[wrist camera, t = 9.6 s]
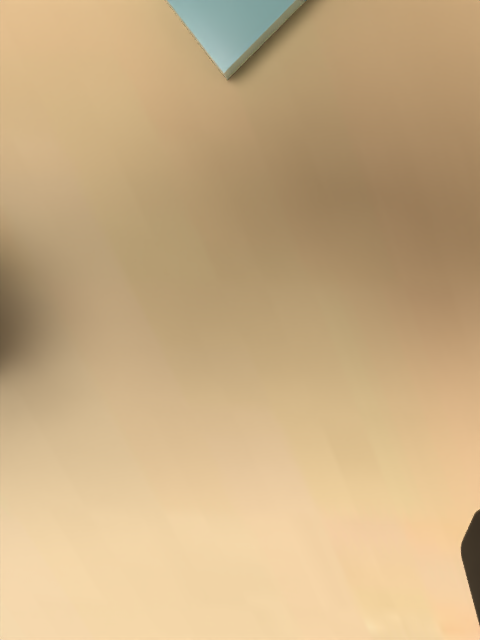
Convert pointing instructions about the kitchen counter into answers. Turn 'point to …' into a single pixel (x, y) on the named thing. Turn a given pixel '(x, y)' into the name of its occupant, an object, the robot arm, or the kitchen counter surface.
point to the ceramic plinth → (232, 26)
